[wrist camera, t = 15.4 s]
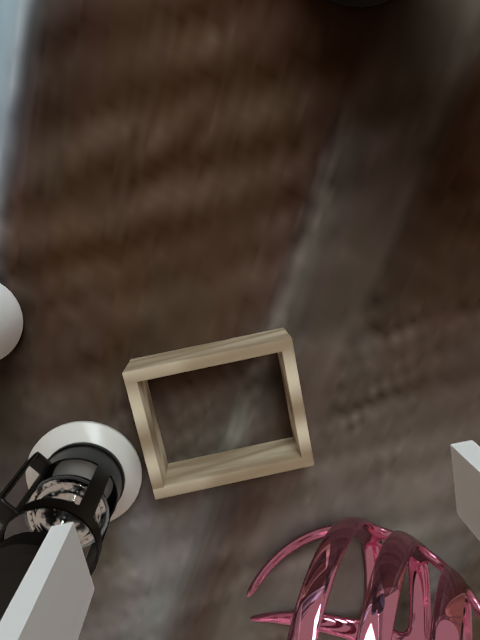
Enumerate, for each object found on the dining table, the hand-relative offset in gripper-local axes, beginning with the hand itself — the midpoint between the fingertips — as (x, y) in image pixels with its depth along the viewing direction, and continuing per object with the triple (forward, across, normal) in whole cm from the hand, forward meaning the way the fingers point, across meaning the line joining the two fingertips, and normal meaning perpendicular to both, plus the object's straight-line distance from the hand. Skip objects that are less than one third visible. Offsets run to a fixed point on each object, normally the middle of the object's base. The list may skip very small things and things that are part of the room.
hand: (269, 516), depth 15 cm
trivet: (+35, -20, -15) cm, 43 cm away
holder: (+35, -3, -10) cm, 37 cm away
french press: (+34, -21, -15) cm, 43 cm away
